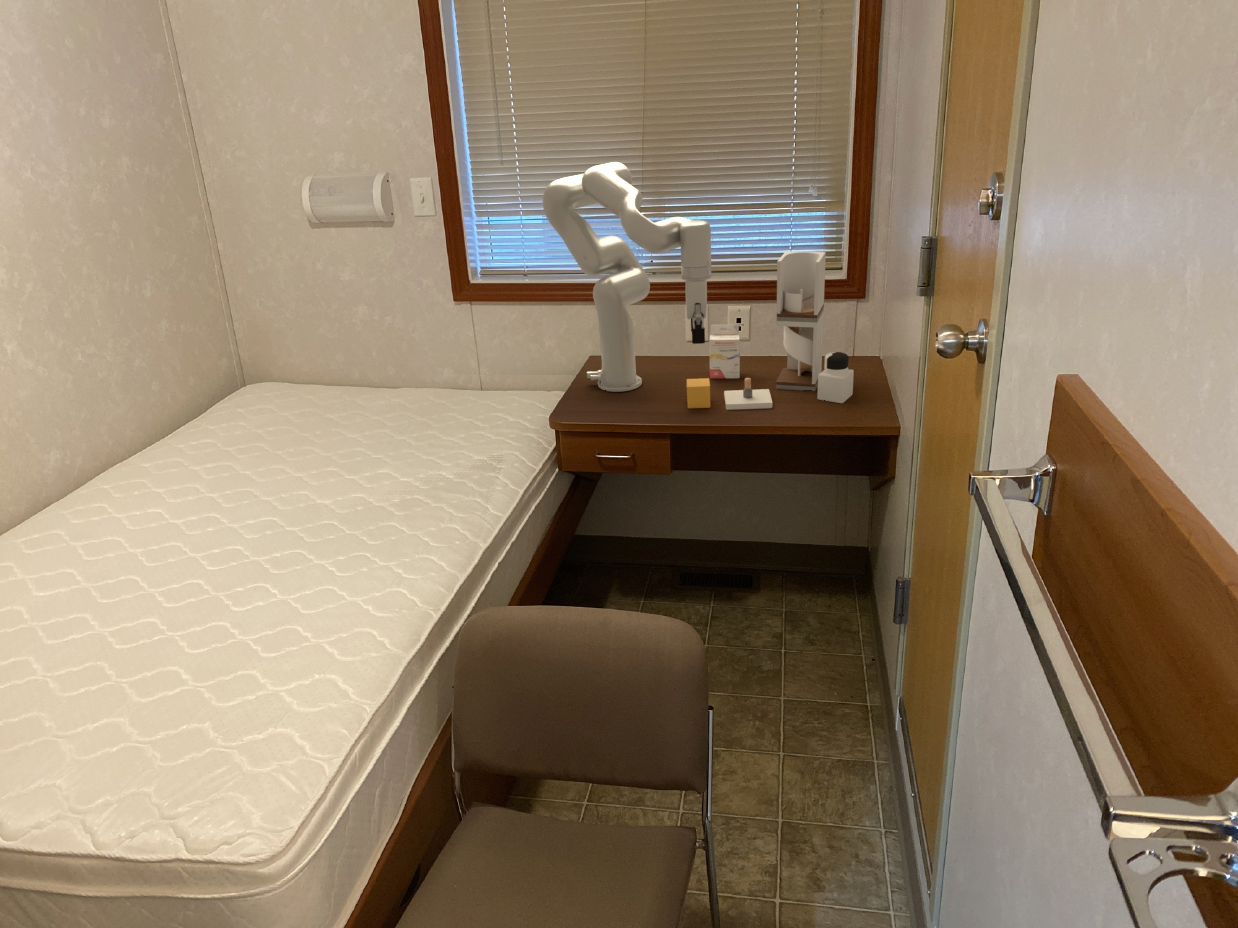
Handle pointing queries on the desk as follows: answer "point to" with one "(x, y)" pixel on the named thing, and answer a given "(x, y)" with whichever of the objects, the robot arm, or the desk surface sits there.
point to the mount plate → (747, 398)
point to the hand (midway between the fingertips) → (697, 337)
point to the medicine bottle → (835, 379)
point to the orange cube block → (698, 393)
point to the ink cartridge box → (724, 351)
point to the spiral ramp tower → (801, 317)
